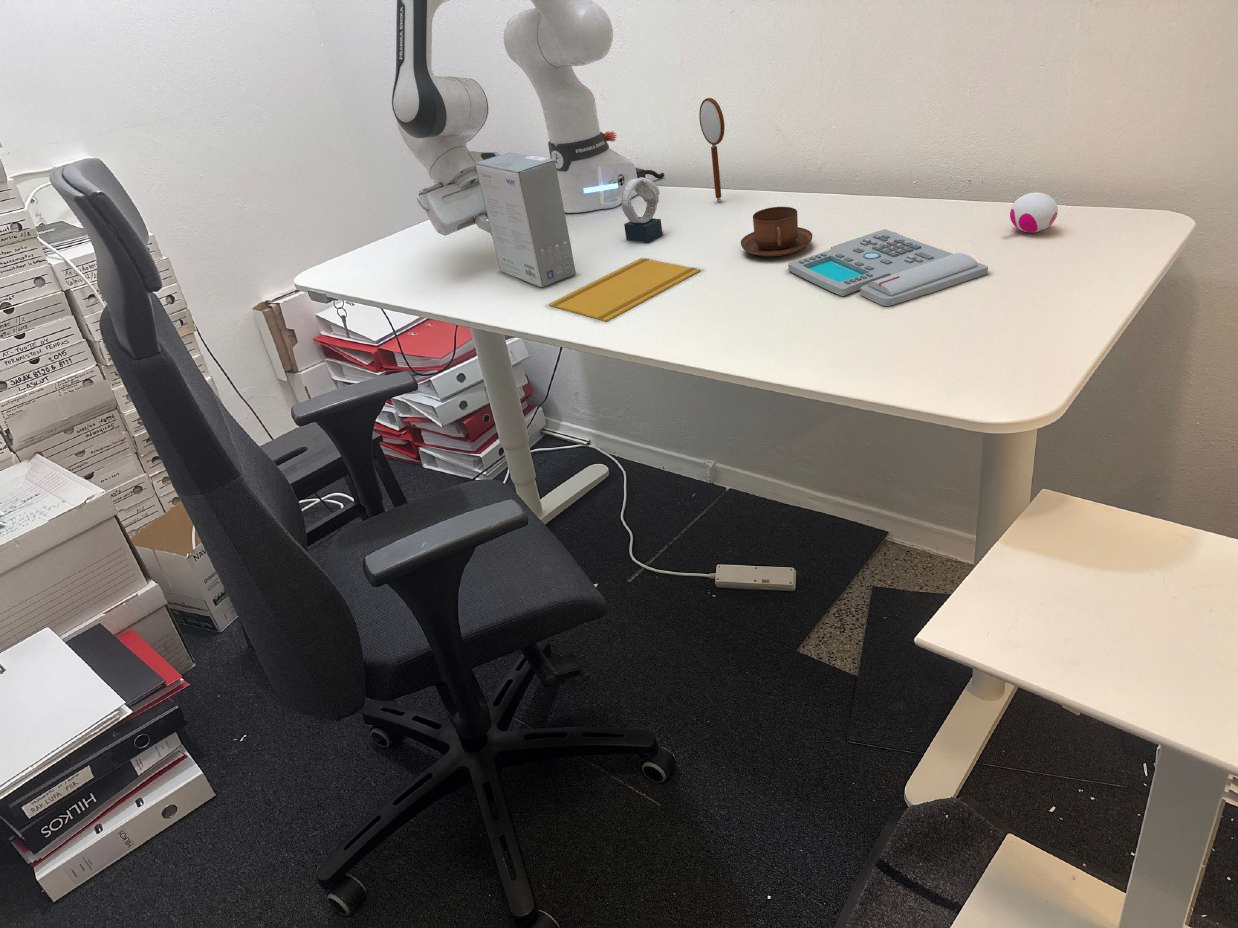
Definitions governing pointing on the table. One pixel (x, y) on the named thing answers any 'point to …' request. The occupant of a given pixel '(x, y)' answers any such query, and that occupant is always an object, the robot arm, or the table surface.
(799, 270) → the office telephone
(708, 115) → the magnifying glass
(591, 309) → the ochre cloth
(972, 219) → the table surface
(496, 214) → the hard drive box
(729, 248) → the table surface
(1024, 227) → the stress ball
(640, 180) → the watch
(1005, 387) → the table surface
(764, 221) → the cup and saucer
